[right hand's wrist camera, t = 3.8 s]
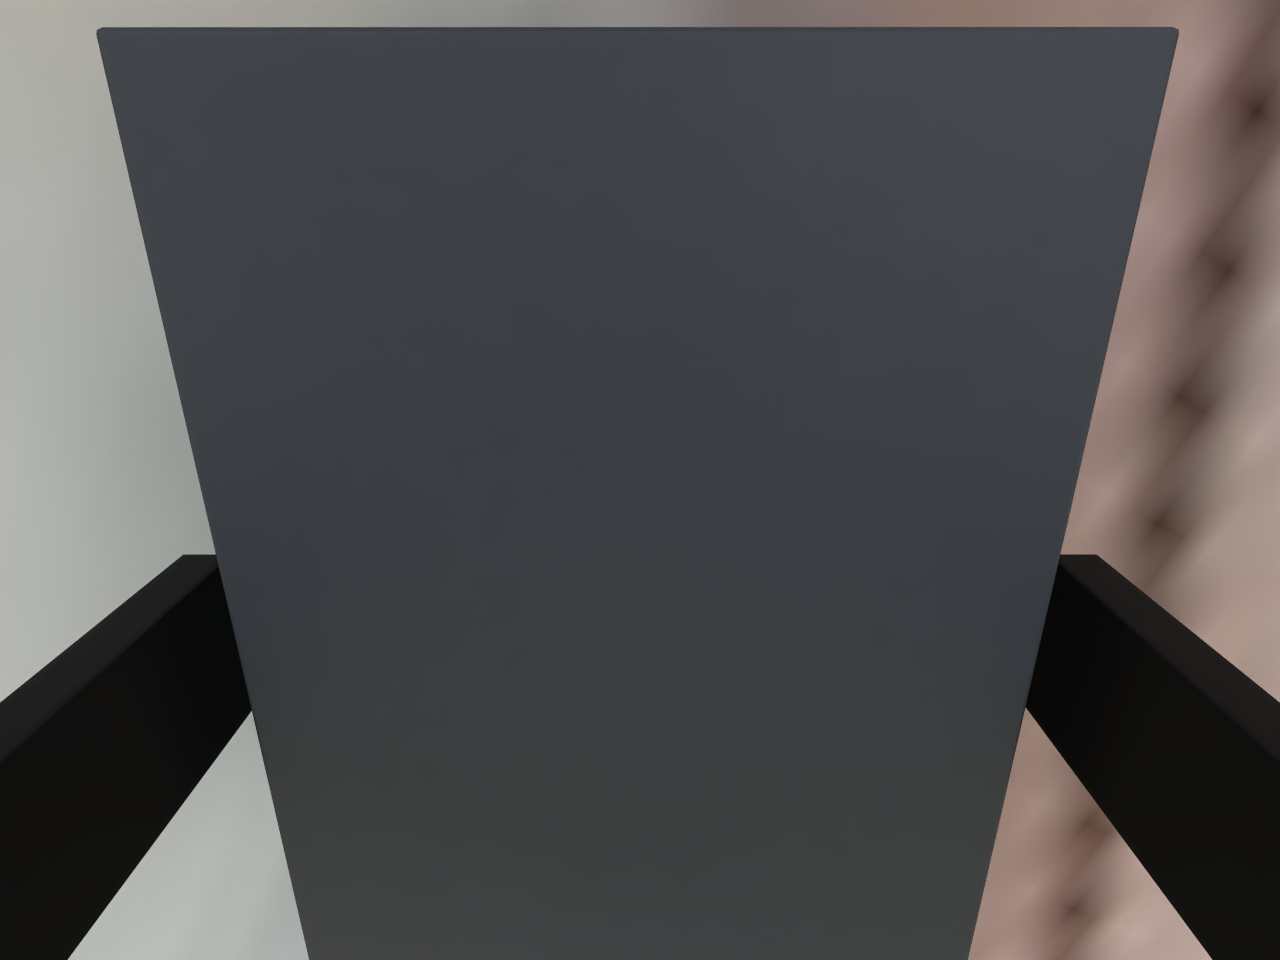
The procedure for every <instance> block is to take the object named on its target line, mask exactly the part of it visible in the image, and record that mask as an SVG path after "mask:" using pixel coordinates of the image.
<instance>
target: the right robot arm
mask: <svg viewBox="0 0 1280 960" xmlns="http://www.w3.org/2000/svg"><path fill="white" fill-rule="evenodd" d="M1025 707H1026V708H1027V710H1028V711H1029V712H1030V714H1031V715H1032V716H1033V718H1034V719H1035V720H1036V722H1037V723H1038V724H1039V726H1040V727H1041V728H1042V730H1043V731H1044V733H1045V734H1046V735H1047V737H1048V738H1049V739H1050V741H1051V742H1052V743H1053V745H1054V746H1055V747H1056V749H1057V750H1058V751H1059V753H1060V754H1061V756H1062V757H1063V758H1064V760H1065V761H1066V762H1067V764H1068V765H1069V766H1070V768H1071V769H1072V770H1073V772H1074V773H1075V774H1076V776H1077V777H1078V778H1079V780H1080V781H1081V783H1082V784H1083V785H1084V787H1085V788H1086V789H1087V791H1088V792H1089V793H1090V795H1091V796H1092V797H1093V799H1094V800H1095V801H1096V803H1097V804H1098V806H1099V807H1100V808H1101V810H1102V811H1103V812H1104V814H1105V815H1106V816H1107V818H1108V819H1109V820H1110V822H1111V823H1112V824H1113V826H1114V827H1115V829H1116V830H1117V831H1118V833H1119V834H1120V835H1121V837H1122V838H1123V839H1124V841H1125V842H1126V843H1127V845H1128V846H1129V847H1130V849H1131V850H1132V851H1133V853H1134V854H1135V856H1136V857H1137V858H1138V860H1139V861H1140V862H1141V864H1142V865H1143V866H1144V868H1145V869H1146V870H1147V872H1148V873H1149V874H1150V876H1151V877H1152V879H1153V880H1154V881H1155V883H1156V884H1157V885H1158V887H1159V888H1160V889H1161V891H1162V892H1163V893H1164V895H1165V896H1166V897H1167V899H1168V900H1169V901H1170V903H1171V904H1172V906H1173V907H1174V908H1175V910H1176V911H1177V912H1178V914H1179V915H1180V916H1181V918H1182V919H1183V920H1184V922H1185V923H1186V924H1187V926H1188V927H1189V929H1190V930H1191V931H1192V933H1193V934H1194V935H1195V937H1196V938H1197V939H1198V941H1199V942H1200V943H1201V945H1202V946H1203V947H1204V949H1205V950H1206V952H1207V953H1208V954H1209V956H1210V957H1211V958H1212V960H1280V702H1278V701H1277V700H1276V699H1275V698H1273V697H1272V696H1271V695H1270V694H1268V693H1267V692H1266V691H1265V690H1263V689H1262V688H1261V687H1260V686H1259V685H1257V684H1256V683H1255V682H1254V681H1252V680H1251V679H1250V678H1249V677H1247V676H1246V675H1245V674H1244V673H1242V672H1241V671H1240V670H1239V669H1237V668H1236V667H1235V666H1234V665H1233V664H1231V663H1230V662H1229V661H1228V660H1226V659H1225V658H1224V657H1223V656H1221V655H1220V654H1219V653H1218V652H1216V651H1215V650H1214V649H1213V648H1211V647H1210V646H1209V645H1208V644H1207V643H1205V642H1204V641H1203V640H1202V639H1200V638H1199V637H1198V636H1197V635H1195V634H1194V633H1193V632H1192V631H1190V630H1189V629H1188V628H1187V627H1185V626H1184V625H1183V624H1182V623H1181V622H1179V621H1178V620H1177V619H1176V618H1174V617H1173V616H1172V615H1171V614H1169V613H1168V612H1167V611H1166V610H1164V609H1163V608H1162V607H1161V606H1159V605H1158V604H1157V603H1156V602H1155V601H1153V600H1152V599H1151V598H1150V597H1148V596H1147V595H1146V594H1145V593H1143V592H1142V591H1141V590H1140V589H1138V588H1137V587H1136V586H1135V585H1134V584H1132V583H1131V582H1130V581H1129V580H1127V579H1126V578H1125V577H1124V576H1122V575H1121V574H1120V573H1119V572H1117V571H1116V570H1115V569H1114V568H1112V567H1111V566H1110V565H1109V564H1108V563H1106V562H1105V561H1104V560H1103V559H1101V558H1100V557H1099V556H1098V555H1060V557H1059V562H1058V566H1057V570H1056V575H1055V579H1054V583H1053V588H1052V592H1051V597H1050V601H1049V605H1048V610H1047V614H1046V619H1045V623H1044V627H1043V632H1042V636H1041V641H1040V645H1039V649H1038V654H1037V658H1036V662H1035V667H1034V671H1033V676H1032V680H1031V684H1030V689H1029V693H1028V698H1027V702H1026V706H1025ZM251 711H252V708H251V704H250V700H249V695H248V691H247V687H246V682H245V678H244V674H243V669H242V665H241V661H240V656H239V652H238V647H237V643H236V639H235V634H234V630H233V626H232V621H231V617H230V613H229V608H228V604H227V600H226V595H225V591H224V587H223V582H222V578H221V574H220V569H219V565H218V561H217V556H216V555H182V556H181V557H180V558H179V559H177V560H176V561H175V562H174V563H172V564H171V565H170V566H169V567H168V568H166V569H165V570H164V571H163V572H161V573H160V574H159V575H158V576H156V577H155V578H154V579H153V580H151V581H150V582H149V583H148V584H146V585H145V586H144V587H143V588H142V589H140V590H139V591H138V592H137V593H135V594H134V595H133V596H132V597H130V598H129V599H128V600H127V601H125V602H124V603H123V604H122V605H121V606H119V607H118V608H117V609H116V610H114V611H113V612H112V613H111V614H109V615H108V616H107V617H106V618H104V619H103V620H102V621H101V622H99V623H98V624H97V625H96V626H95V627H93V628H92V629H91V630H90V631H88V632H87V633H86V634H85V635H83V636H82V637H81V638H80V639H78V640H77V641H76V642H75V643H73V644H72V645H71V646H70V647H69V648H67V649H66V650H65V651H64V652H62V653H61V654H60V655H59V656H57V657H56V658H55V659H54V660H52V661H51V662H50V663H49V664H47V665H46V666H45V667H44V668H43V669H41V670H40V671H39V672H38V673H36V674H35V675H34V676H33V677H31V678H30V679H29V680H28V681H26V682H25V683H24V684H23V685H21V686H20V687H19V688H18V689H17V690H15V691H14V692H13V693H12V694H10V695H9V696H8V697H7V698H5V699H4V700H3V701H2V702H0V960H68V958H69V957H70V956H71V954H72V953H73V952H74V950H75V949H76V947H77V946H78V945H79V943H80V942H81V941H82V939H83V938H84V937H85V935H86V934H87V933H88V931H89V930H90V929H91V927H92V926H93V924H94V923H95V922H96V920H97V919H98V918H99V916H100V915H101V914H102V912H103V911H104V910H105V908H106V907H107V906H108V904H109V903H110V901H111V900H112V899H113V897H114V896H115V895H116V893H117V892H118V891H119V889H120V888H121V887H122V885H123V884H124V883H125V881H126V880H127V879H128V877H129V876H130V874H131V873H132V872H133V870H134V869H135V868H136V866H137V865H138V864H139V862H140V861H141V860H142V858H143V857H144V856H145V854H146V853H147V851H148V850H149V849H150V847H151V846H152V845H153V843H154V842H155V841H156V839H157V838H158V837H159V835H160V834H161V833H162V831H163V830H164V829H165V827H166V826H167V824H168V823H169V822H170V820H171V819H172V818H173V816H174V815H175V814H176V812H177V811H178V810H179V808H180V807H181V806H182V804H183V803H184V801H185V800H186V799H187V797H188V796H189V795H190V793H191V792H192V791H193V789H194V788H195V787H196V785H197V784H198V783H199V781H200V780H201V778H202V777H203V776H204V774H205V773H206V772H207V770H208V769H209V768H210V766H211V765H212V764H213V762H214V761H215V760H216V758H217V757H218V756H219V754H220V753H221V751H222V750H223V749H224V747H225V746H226V745H227V743H228V742H229V741H230V739H231V738H232V737H233V735H234V734H235V733H236V731H237V730H238V728H239V727H240V726H241V724H242V723H243V722H244V720H245V719H246V718H247V716H248V715H249V714H250V712H251Z"/></svg>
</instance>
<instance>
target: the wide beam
mask: <svg viewBox="0 0 1280 960" xmlns="http://www.w3.org/2000/svg"><path fill="white" fill-rule="evenodd" d="M96 35H97V39H98V43H99V48H100V52H101V56H102V61H103V65H104V69H105V74H106V78H107V82H108V87H109V91H110V95H111V100H112V104H113V108H114V113H115V117H116V121H117V126H118V130H119V135H120V139H121V143H122V148H123V152H124V156H125V161H126V165H127V169H128V174H129V178H130V182H131V187H132V191H133V195H134V200H135V204H136V208H137V213H138V217H139V221H140V226H141V230H142V235H143V239H144V243H145V248H146V252H147V256H148V261H149V265H150V269H151V274H152V278H153V282H154V287H155V291H156V295H157V300H158V304H159V308H160V313H161V317H162V321H163V326H164V330H165V334H166V339H167V343H168V348H169V352H170V356H171V361H172V365H173V369H174V374H175V378H176V382H177V387H178V391H179V395H180V400H181V404H182V408H183V413H184V417H185V421H186V426H187V430H188V434H189V439H190V443H191V448H192V452H193V456H194V461H195V465H196V469H197V474H198V478H199V482H200V487H201V491H202V495H203V500H204V504H205V508H206V513H207V517H208V521H209V526H210V530H211V534H212V539H213V543H214V547H215V552H216V556H217V561H218V565H219V569H220V574H221V578H222V582H223V587H224V591H225V595H226V600H227V604H228V608H229V613H230V617H231V621H232V626H233V630H234V634H235V639H236V643H237V647H238V652H239V656H240V661H241V665H242V669H243V674H244V678H245V682H246V687H247V691H248V695H249V700H250V704H251V708H252V713H253V717H254V721H255V726H256V730H257V734H258V739H259V743H260V747H261V752H262V756H263V761H264V765H265V769H266V774H267V778H268V782H269V787H270V791H271V795H272V800H273V804H274V808H275V813H276V817H277V821H278V826H279V830H280V834H281V839H282V843H283V847H284V852H285V856H286V860H287V865H288V869H289V874H290V878H291V882H292V887H293V891H294V895H295V900H296V904H297V908H298V913H299V917H300V921H301V926H302V930H303V934H304V939H305V943H306V947H307V952H308V956H309V960H968V956H969V952H970V948H971V943H972V939H973V934H974V930H975V926H976V921H977V917H978V912H979V908H980V904H981V899H982V895H983V891H984V886H985V882H986V877H987V873H988V869H989V864H990V860H991V855H992V851H993V847H994V842H995V838H996V834H997V829H998V825H999V820H1000V816H1001V812H1002V807H1003V803H1004V798H1005V794H1006V790H1007V785H1008V781H1009V776H1010V772H1011V768H1012V763H1013V759H1014V755H1015V750H1016V746H1017V741H1018V737H1019V733H1020V728H1021V724H1022V719H1023V715H1024V711H1025V706H1026V702H1027V698H1028V693H1029V689H1030V684H1031V680H1032V676H1033V671H1034V667H1035V662H1036V658H1037V654H1038V649H1039V645H1040V641H1041V636H1042V632H1043V627H1044V623H1045V619H1046V614H1047V610H1048V605H1049V601H1050V597H1051V592H1052V588H1053V583H1054V579H1055V575H1056V570H1057V566H1058V562H1059V557H1060V553H1061V548H1062V544H1063V540H1064V535H1065V531H1066V526H1067V522H1068V518H1069V513H1070V509H1071V505H1072V500H1073V496H1074V491H1075V487H1076V483H1077V478H1078V474H1079V469H1080V465H1081V461H1082V456H1083V452H1084V448H1085V443H1086V439H1087V434H1088V430H1089V426H1090V421H1091V417H1092V412H1093V408H1094V404H1095V399H1096V395H1097V391H1098V386H1099V382H1100V377H1101V373H1102V369H1103V364H1104V360H1105V355H1106V351H1107V347H1108V342H1109V338H1110V333H1111V329H1112V325H1113V320H1114V316H1115V312H1116V307H1117V303H1118V298H1119V294H1120V290H1121V285H1122V281H1123V276H1124V272H1125V268H1126V263H1127V259H1128V255H1129V250H1130V246H1131V241H1132V237H1133V233H1134V228H1135V224H1136V219H1137V215H1138V211H1139V206H1140V202H1141V198H1142V193H1143V189H1144V184H1145V180H1146V176H1147V171H1148V167H1149V162H1150V158H1151V154H1152V149H1153V145H1154V141H1155V136H1156V132H1157V127H1158V123H1159V119H1160V114H1161V110H1162V105H1163V101H1164V97H1165V92H1166V88H1167V83H1168V79H1169V75H1170V70H1171V66H1172V62H1173V57H1174V53H1175V48H1176V44H1177V40H1178V35H1179V31H1178V29H1176V28H1174V27H102V28H100V29H98V30H97V34H96Z"/></svg>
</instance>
